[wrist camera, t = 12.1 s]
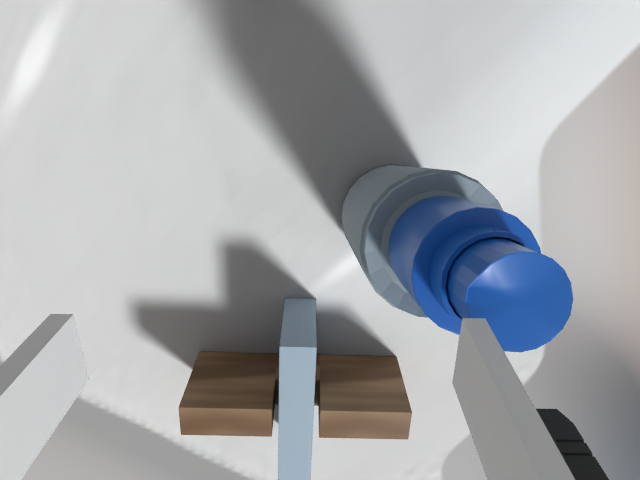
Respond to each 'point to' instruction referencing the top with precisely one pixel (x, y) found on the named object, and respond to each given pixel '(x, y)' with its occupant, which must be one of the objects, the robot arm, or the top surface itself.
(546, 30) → the top surface
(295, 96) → the top surface
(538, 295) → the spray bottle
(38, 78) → the top surface
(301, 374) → the slotted plate
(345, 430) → the slotted stand
